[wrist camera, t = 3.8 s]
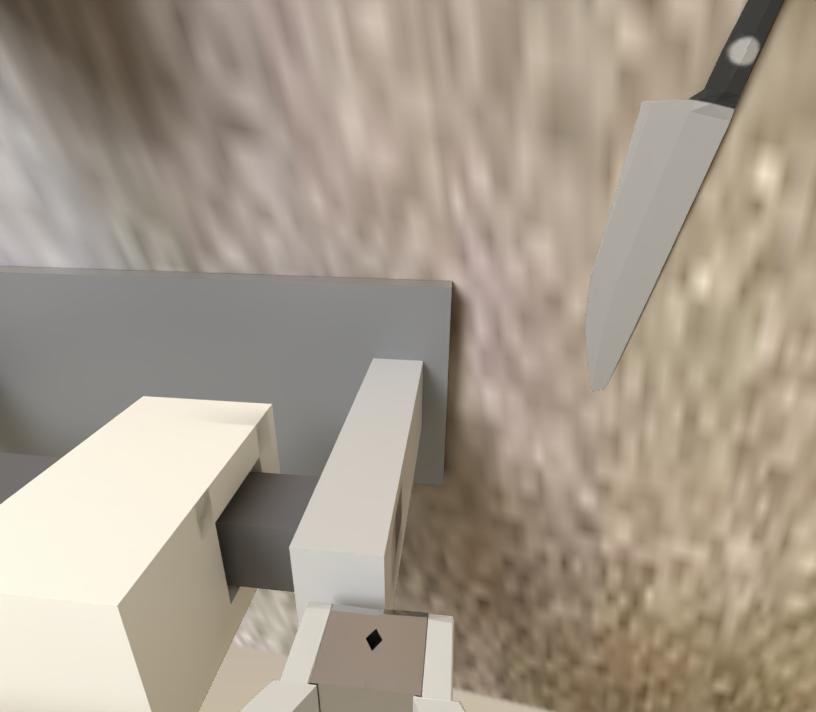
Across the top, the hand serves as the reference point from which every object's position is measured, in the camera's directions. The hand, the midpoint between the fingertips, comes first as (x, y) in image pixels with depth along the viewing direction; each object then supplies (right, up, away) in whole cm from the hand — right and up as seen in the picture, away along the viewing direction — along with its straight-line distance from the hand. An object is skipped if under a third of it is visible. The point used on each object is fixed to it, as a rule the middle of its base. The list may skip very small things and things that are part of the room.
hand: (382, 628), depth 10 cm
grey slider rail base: (-10, +5, +12) cm, 16 cm away
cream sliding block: (-5, +2, +5) cm, 8 cm away
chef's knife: (+9, +12, +7) cm, 16 cm away
